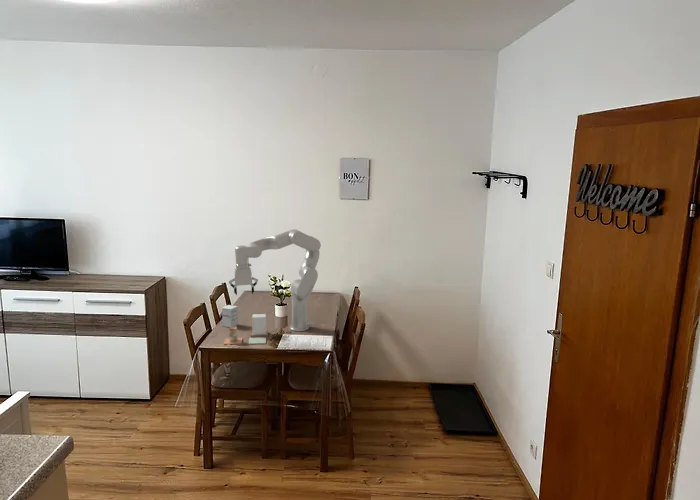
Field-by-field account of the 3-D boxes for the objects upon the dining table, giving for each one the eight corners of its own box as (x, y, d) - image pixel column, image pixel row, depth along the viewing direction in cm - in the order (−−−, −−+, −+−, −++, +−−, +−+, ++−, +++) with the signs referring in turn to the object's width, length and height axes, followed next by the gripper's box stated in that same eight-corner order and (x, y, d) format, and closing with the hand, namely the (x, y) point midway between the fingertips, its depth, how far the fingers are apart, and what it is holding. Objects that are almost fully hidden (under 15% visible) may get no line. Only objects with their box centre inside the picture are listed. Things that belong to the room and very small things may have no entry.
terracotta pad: (242, 338, 302) (242, 337, 302) (241, 344, 293) (241, 343, 293) (225, 339, 300) (225, 338, 300) (223, 344, 292) (223, 343, 292)
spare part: (237, 339, 299) (236, 326, 297) (236, 341, 295) (236, 328, 294) (230, 339, 298) (229, 326, 297) (229, 342, 295) (229, 329, 293)
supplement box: (222, 326, 323) (221, 307, 320) (229, 322, 329) (228, 304, 327) (231, 328, 320) (230, 309, 317) (238, 324, 326) (238, 306, 324)
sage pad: (265, 338, 303) (265, 337, 303) (265, 343, 294) (265, 342, 294) (249, 338, 302) (249, 337, 301) (248, 344, 293) (248, 343, 293)
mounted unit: (267, 332, 313) (267, 313, 311) (267, 336, 306) (267, 317, 303) (251, 332, 312) (251, 313, 310) (250, 337, 304) (250, 318, 302)
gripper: (257, 264, 305) (258, 291, 309) (228, 265, 302) (230, 293, 306) (257, 266, 298) (258, 294, 301) (227, 268, 295) (229, 296, 298)
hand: (244, 293), depth 303 cm, fingers open, 9 cm apart
